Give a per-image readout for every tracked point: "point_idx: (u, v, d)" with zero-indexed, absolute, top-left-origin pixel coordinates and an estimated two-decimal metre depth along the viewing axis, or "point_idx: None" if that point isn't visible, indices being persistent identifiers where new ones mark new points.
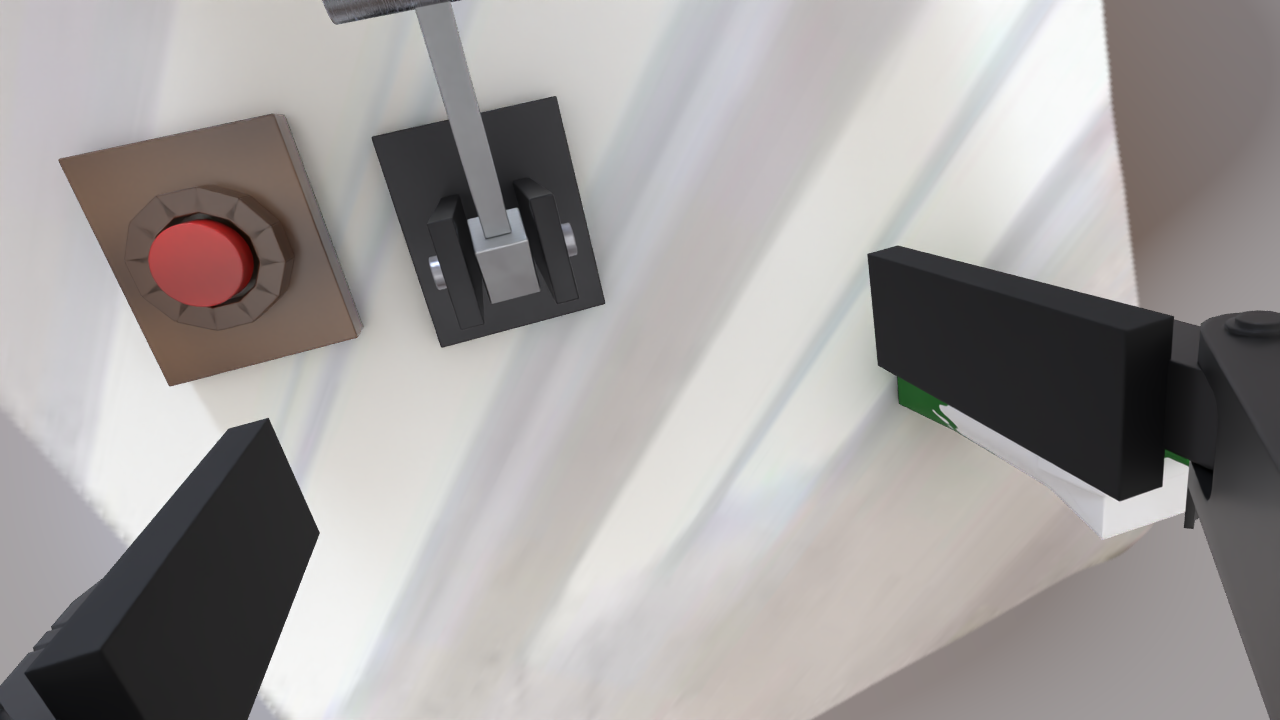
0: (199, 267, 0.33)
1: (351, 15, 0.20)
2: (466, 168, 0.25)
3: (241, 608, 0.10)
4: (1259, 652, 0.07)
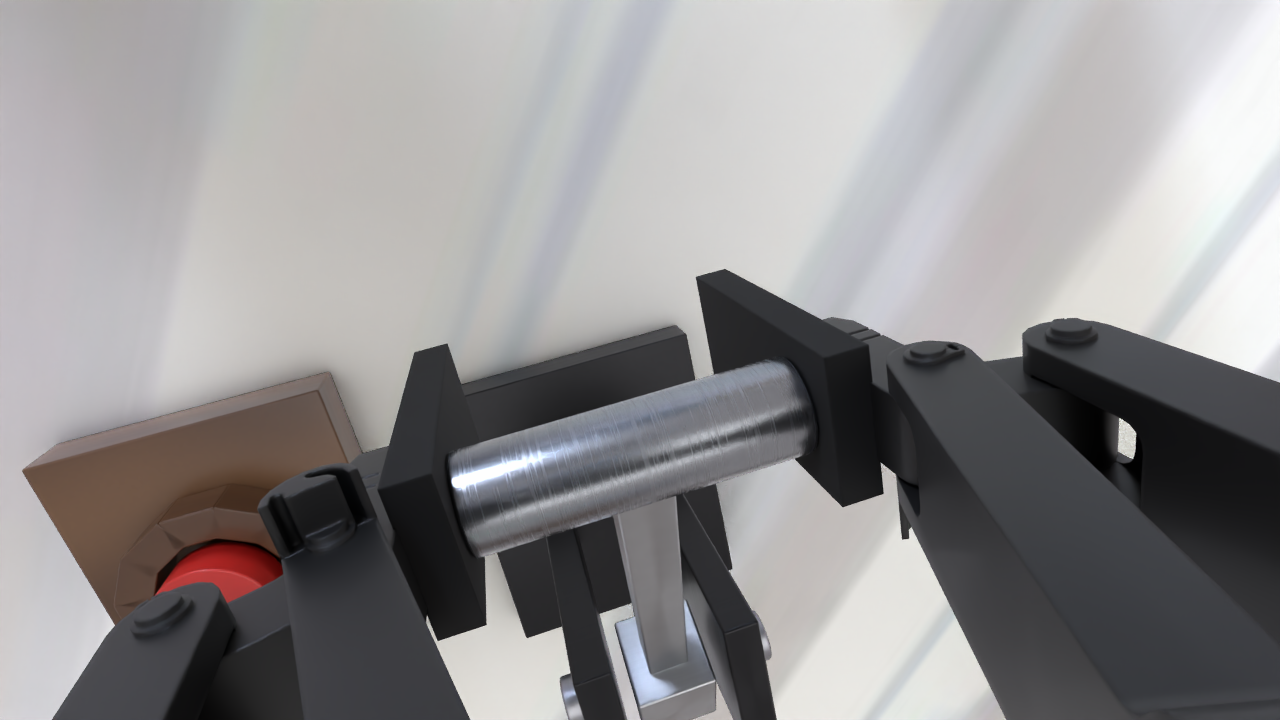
0: None
1: (512, 547, 0.11)
2: (644, 629, 0.16)
3: None
4: (986, 658, 0.07)
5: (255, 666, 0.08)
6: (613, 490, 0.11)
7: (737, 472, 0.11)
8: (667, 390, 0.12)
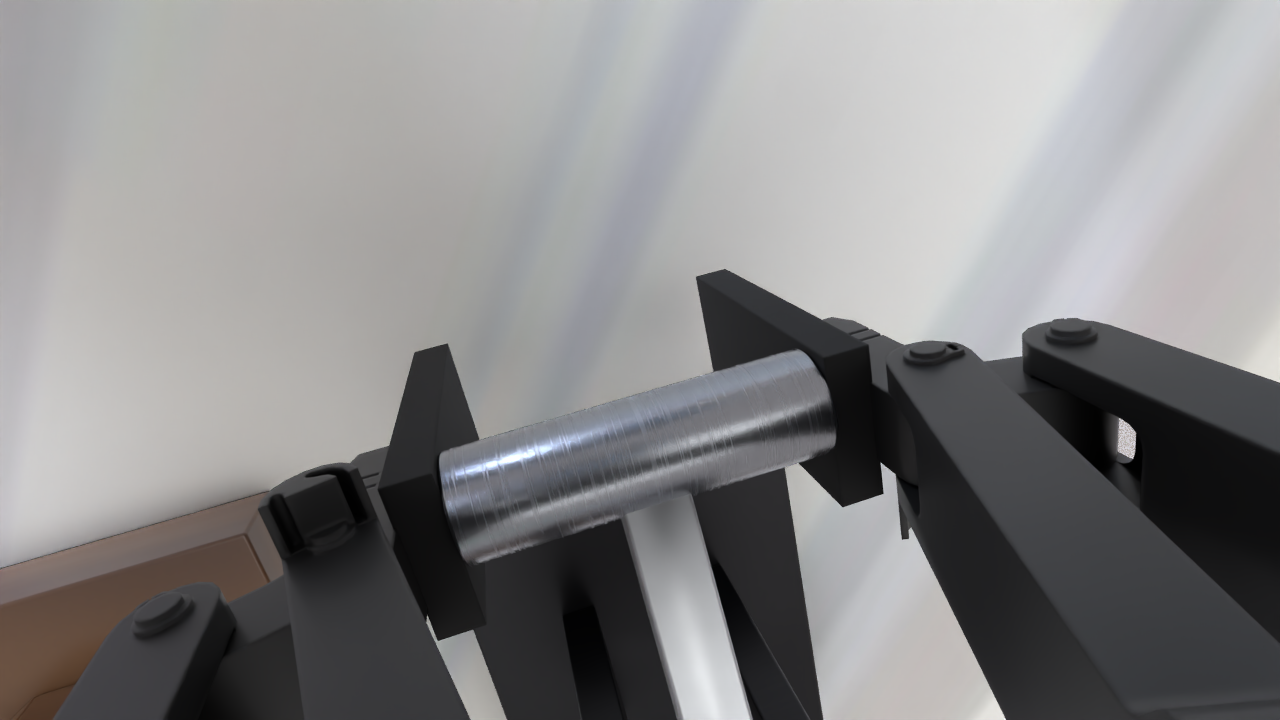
0: None
1: (500, 543, 0.10)
2: None
3: None
4: (986, 658, 0.07)
5: (255, 666, 0.08)
6: (605, 449, 0.10)
7: (748, 439, 0.10)
8: None
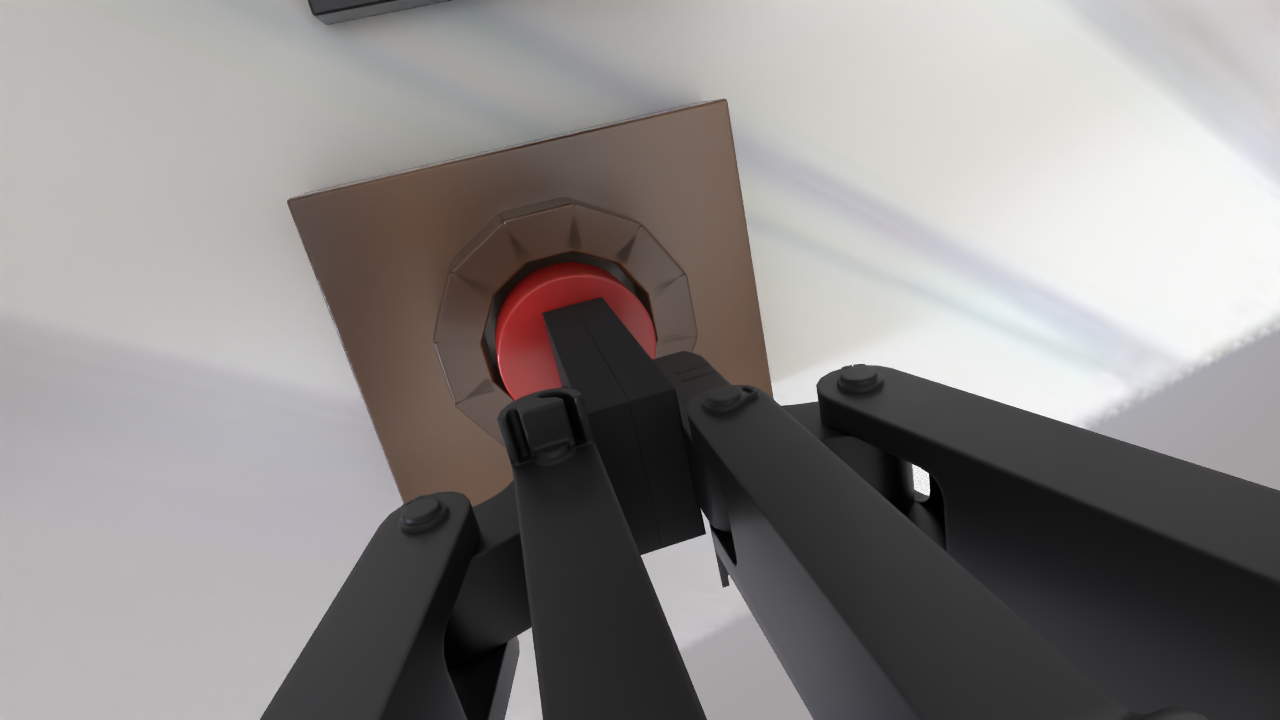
0: None
1: None
2: None
3: None
4: (818, 710, 0.07)
5: (504, 563, 0.09)
6: None
7: None
8: None
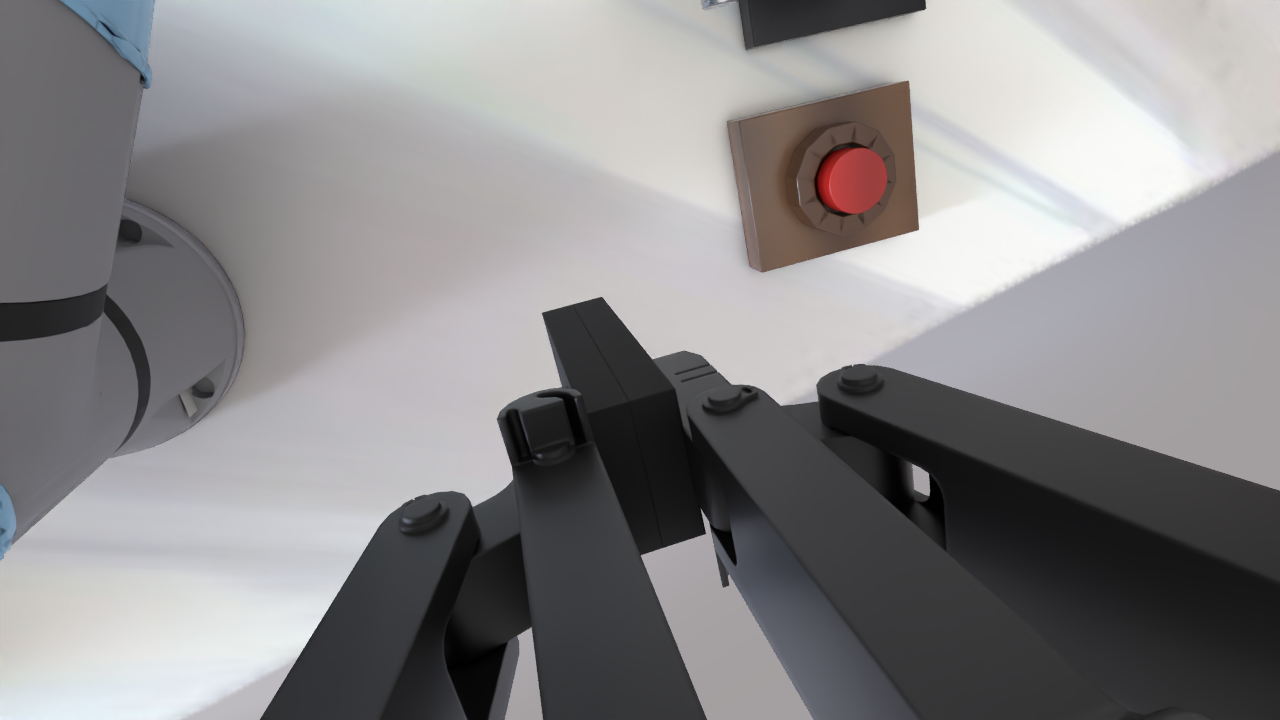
0: (860, 179, 0.43)
1: None
2: None
3: None
4: (818, 711, 0.07)
5: (504, 563, 0.09)
6: None
7: None
8: None
